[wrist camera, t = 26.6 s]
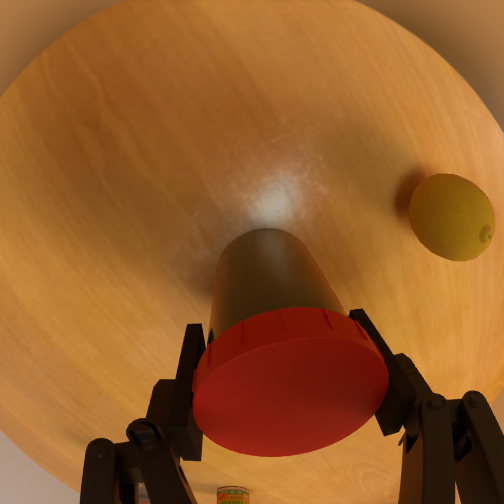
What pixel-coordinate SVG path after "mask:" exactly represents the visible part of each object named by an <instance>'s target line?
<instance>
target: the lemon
mask: <svg viewBox="0 0 504 504" xmlns="http://www.w3.org/2000/svg"><path fill="white" fill-rule="evenodd" d="M409 220H410V224H411V227H412V230H413V232H414V233H415V235H416V236H417V238H418V240H419V241H420V242H421V243H422V244H423V245H424V246H425V247H426V248H427V249H429V250H430V251H431V252H432V253H434V254H436V255H438V256H440V257H443V258H445V259H448V260H452V261H468V260H471V259H474V258H476V257H478V256H479V255H480V254H482V253H483V252H484V251H485V250H486V248H487V247H488V246H489V244H490V242H491V240H492V237H493V234H494V230H495V215H494V211H493V207H492V205H491V203H490V201H489V199H488V197H487V196H486V194H485V193H484V192H483V191H482V190H481V189H480V188H479V187H478V186H477V185H475V184H474V183H472V182H471V181H469V180H467V179H465V178H463V177H460V176H458V175H454V174H436V175H433V176H430V177H428V178H426V179H425V180H423V181H422V182H421V183H420V184H419V185H418V186H417V187H416V188H415V190H414V192H413V194H412V196H411V199H410V203H409Z"/></svg>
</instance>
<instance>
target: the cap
mask: <svg viewBox="0 0 504 504" xmlns="http://www.w3.org/2000/svg"><path fill="white" fill-rule="evenodd" d="M383 360H384V357H383V356H382V354H381V352H380V351H379V349H378V347H377V346H376V344H375V342H374V341H373V340H371V339H370V337H369V336H368V334H367V333H366V331H365V330H364V329H363V328H362V327H361V326H360V324H359V323H358V321H357V320H355V321H354V320H352V319H351V318H349V317H347V316H345V315H342V314H340V313H337V312H334V311H331V310H326V308H323V309H320V308H310V307H296V308H285V309H283V308H280V309H279V310H273V311H269V312H265V313H262V314H259V315H256V316H253V317H250V318H248V319H246V320H244V321H242V322H241V321H239V322H238V323H237V324H235V325H234V326H232V327H231V328H229V329H228V330H226V331H224V332H223V333H222V334H221V335H220V336H218V337H217V338H216V339H215V340H214V341H213V342H212V343H211V344H210V343H209V344H208V347H207V349H206V350H205V352H204V353H203V355H202V356H201V359H200V361H199V363H198V366H197V369H195V370H194V378H193V385H192V392H194V394H193V402H192V411H193V415H194V418H195V421H196V423H197V426H198V427H199V429H200V430H201V431H202V433H203V434H204V435H206V436H207V437H208V438H209V439H210V440H212V441H213V442H215V443H216V444H218V445H220V446H222V447H224V448H226V449H229V450H231V451H235V452H238V453H242V454H247V455H252V456H261V457H282V456H292V455H298V454H303V453H307V452H311V451H315V450H318V449H321V448H324V447H326V446H329V445H331V444H334V443H336V442H338V441H340V440H342V439H344V438H345V437H347V436H349V435H350V434H352V433H353V432H355V431H356V430H358V429H359V428H360V427H361V426H363V425H364V424H365V423H366V422H367V421H368V420H369V419H370V418H371V417H372V416H373V415H374V414H375V412H376V411H377V410H378V409H379V407H380V405H381V404H382V402H383V400H384V398H385V395H386V392H387V390H388V384H389V375H388V370H387V367H386V364H385V363H384V361H383Z"/></svg>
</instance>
